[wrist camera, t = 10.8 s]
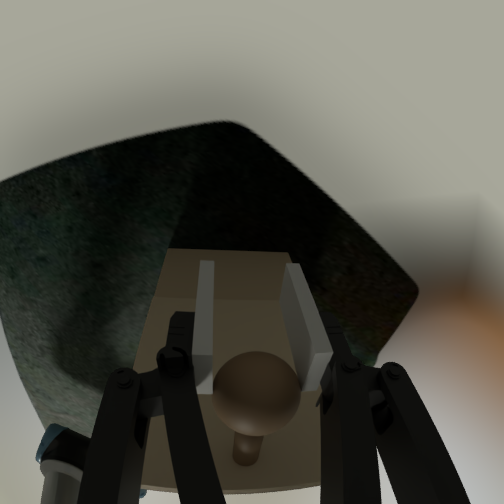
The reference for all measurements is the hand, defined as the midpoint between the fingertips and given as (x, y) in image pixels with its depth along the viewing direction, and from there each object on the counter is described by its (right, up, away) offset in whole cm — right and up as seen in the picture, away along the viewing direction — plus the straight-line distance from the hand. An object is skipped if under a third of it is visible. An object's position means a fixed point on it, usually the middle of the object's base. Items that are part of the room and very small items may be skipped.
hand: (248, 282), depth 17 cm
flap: (-1, -8, +6) cm, 10 cm away
